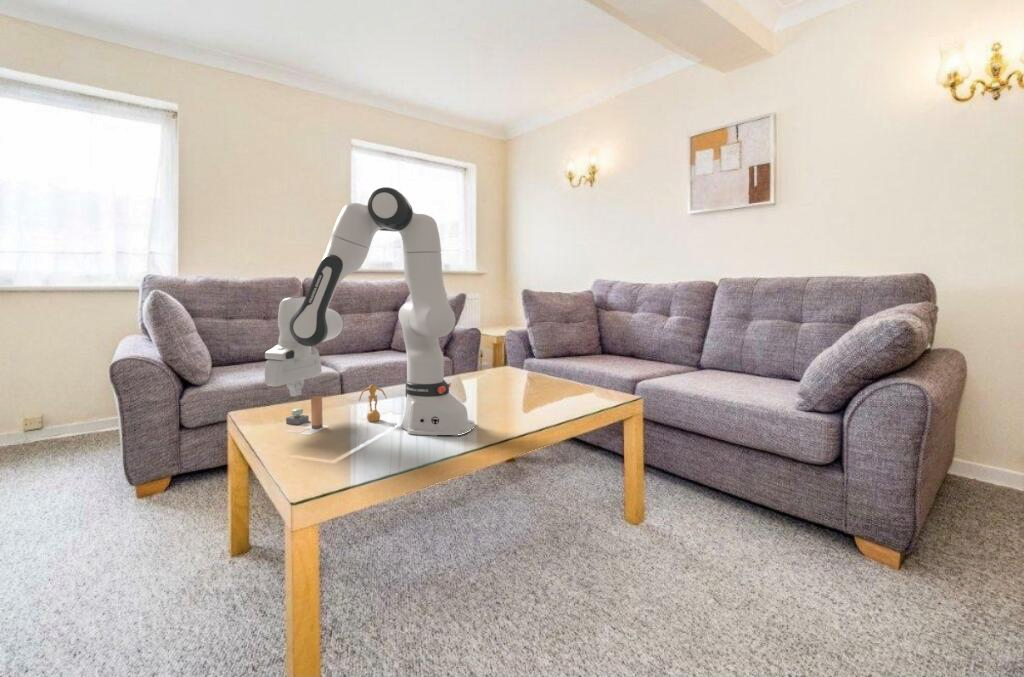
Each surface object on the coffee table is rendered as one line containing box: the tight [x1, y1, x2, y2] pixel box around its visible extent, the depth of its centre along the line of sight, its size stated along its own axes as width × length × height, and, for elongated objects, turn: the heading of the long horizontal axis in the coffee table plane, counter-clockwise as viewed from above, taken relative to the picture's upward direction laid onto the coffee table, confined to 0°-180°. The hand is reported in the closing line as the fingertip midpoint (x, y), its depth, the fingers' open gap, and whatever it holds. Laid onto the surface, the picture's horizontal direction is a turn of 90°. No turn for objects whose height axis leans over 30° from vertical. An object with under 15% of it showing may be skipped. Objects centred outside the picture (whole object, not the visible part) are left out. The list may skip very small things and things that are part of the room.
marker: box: [310, 396, 324, 429], centre depth 137 cm, size 3×3×9 cm
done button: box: [290, 407, 304, 418], centre depth 142 cm, size 3×3×3 cm
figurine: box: [358, 383, 387, 423], centre depth 146 cm, size 8×6×12 cm
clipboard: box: [283, 414, 330, 436], centre depth 137 cm, size 14×12×2 cm
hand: (295, 395), depth 141 cm, fingers closed
